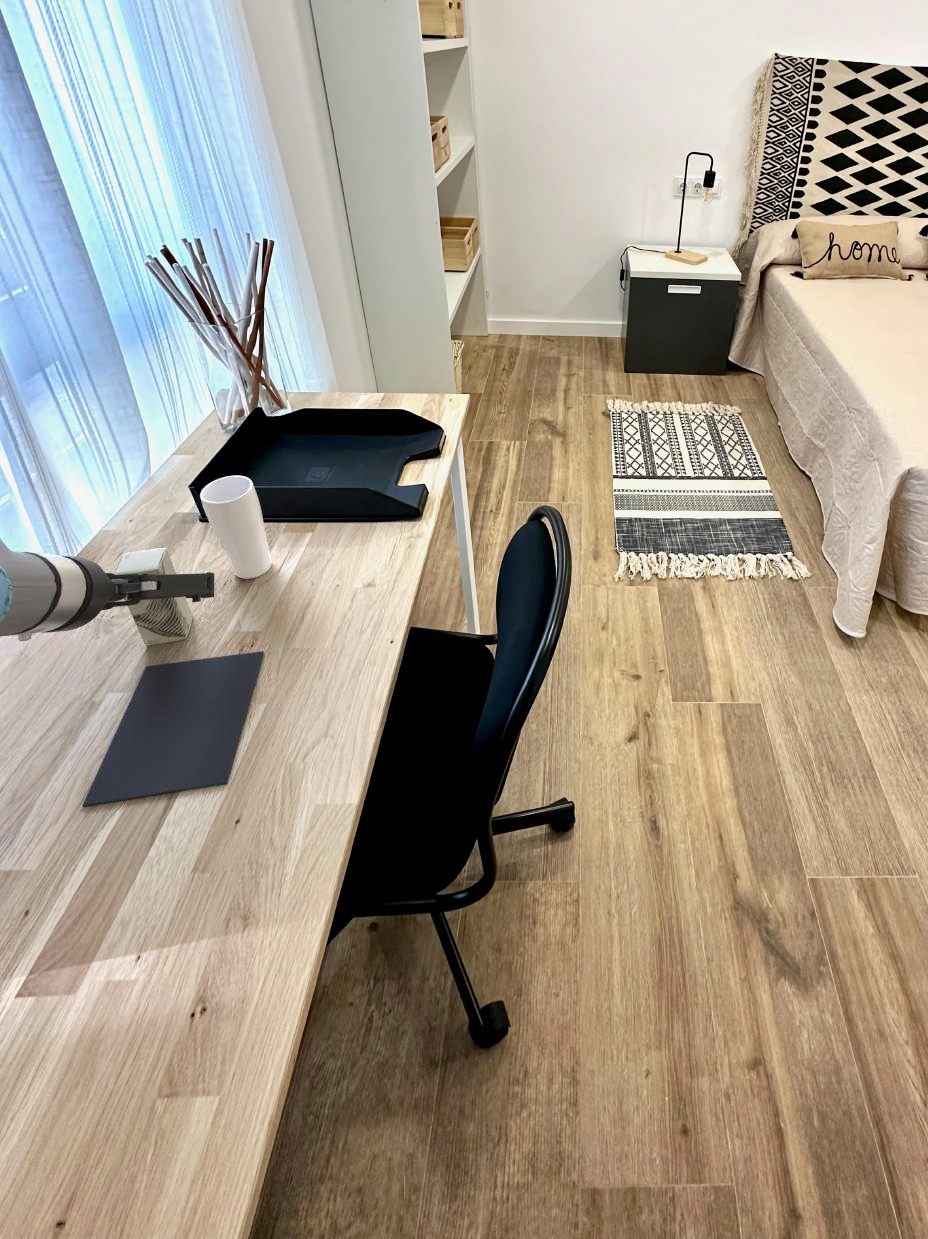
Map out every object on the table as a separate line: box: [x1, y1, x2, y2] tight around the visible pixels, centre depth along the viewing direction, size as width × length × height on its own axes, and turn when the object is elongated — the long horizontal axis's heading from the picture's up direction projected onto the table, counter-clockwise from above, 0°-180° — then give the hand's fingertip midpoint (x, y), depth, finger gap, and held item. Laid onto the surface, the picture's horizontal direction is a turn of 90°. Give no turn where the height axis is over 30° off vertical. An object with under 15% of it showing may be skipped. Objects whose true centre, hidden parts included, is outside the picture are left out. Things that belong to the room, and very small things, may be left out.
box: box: [113, 547, 194, 646], centre depth 85 cm, size 5×4×13 cm
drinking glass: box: [199, 475, 273, 580], centre depth 95 cm, size 7×7×15 cm
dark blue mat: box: [82, 650, 265, 808], centre depth 78 cm, size 14×18×1 cm
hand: (154, 593), depth 85 cm, fingers open, 13 cm apart
